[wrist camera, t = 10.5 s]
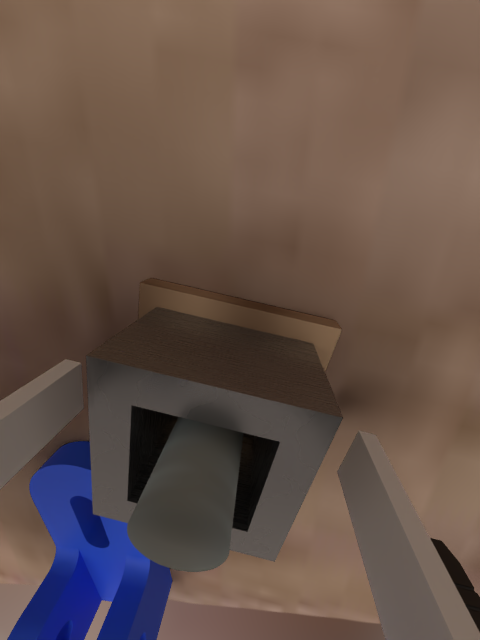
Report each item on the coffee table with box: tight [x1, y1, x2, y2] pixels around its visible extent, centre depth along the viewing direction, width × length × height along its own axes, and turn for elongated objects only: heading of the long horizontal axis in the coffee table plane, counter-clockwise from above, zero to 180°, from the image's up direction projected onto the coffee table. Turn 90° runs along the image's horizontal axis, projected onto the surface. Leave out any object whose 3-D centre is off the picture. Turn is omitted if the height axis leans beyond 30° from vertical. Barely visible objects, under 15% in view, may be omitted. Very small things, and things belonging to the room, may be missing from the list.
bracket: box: [7, 441, 172, 640], centre depth 17 cm, size 18×8×9 cm, turn 2°
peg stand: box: [127, 278, 342, 572], centre depth 11 cm, size 10×10×8 cm
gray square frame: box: [86, 307, 343, 562], centre depth 11 cm, size 8×8×5 cm
